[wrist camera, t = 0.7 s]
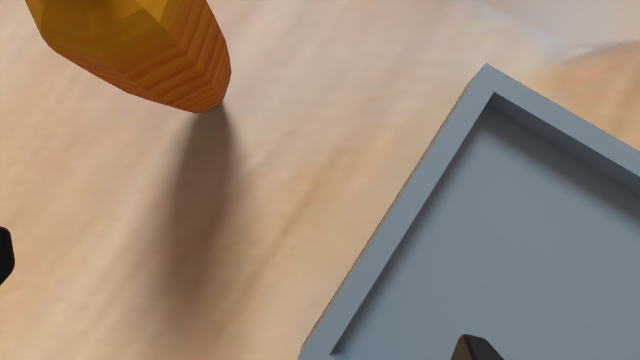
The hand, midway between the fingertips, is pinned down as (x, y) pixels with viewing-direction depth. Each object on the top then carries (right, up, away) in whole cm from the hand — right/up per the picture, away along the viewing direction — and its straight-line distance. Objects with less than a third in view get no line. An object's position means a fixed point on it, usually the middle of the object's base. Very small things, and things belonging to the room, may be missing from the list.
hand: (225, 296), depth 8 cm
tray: (+12, -4, +12) cm, 17 cm away
